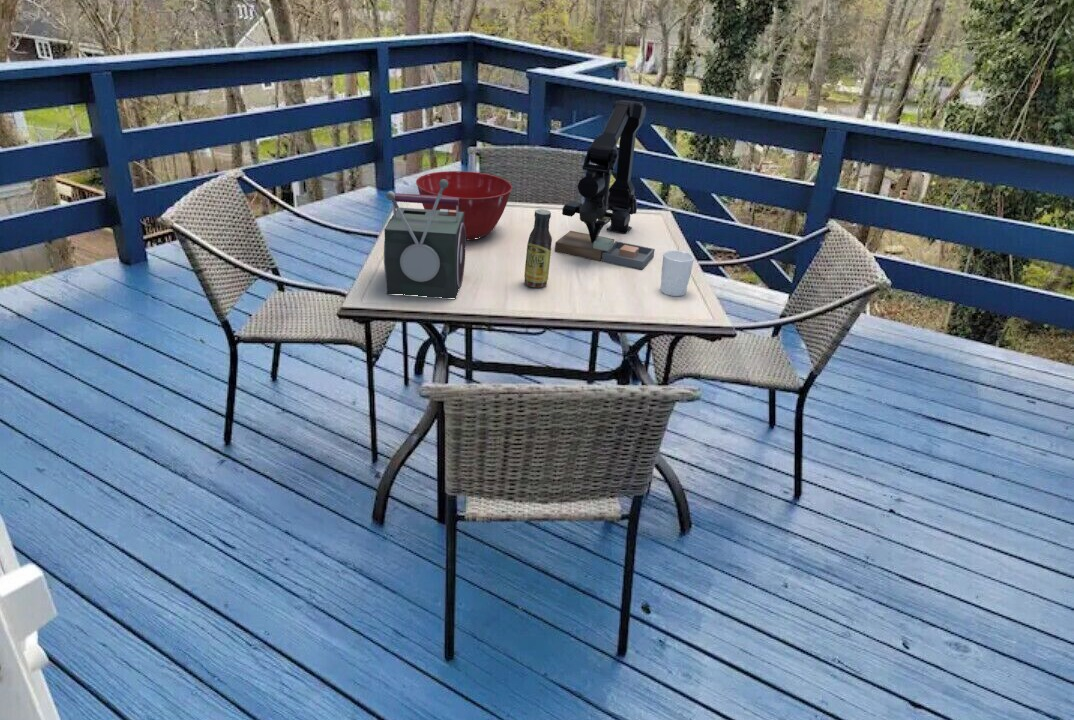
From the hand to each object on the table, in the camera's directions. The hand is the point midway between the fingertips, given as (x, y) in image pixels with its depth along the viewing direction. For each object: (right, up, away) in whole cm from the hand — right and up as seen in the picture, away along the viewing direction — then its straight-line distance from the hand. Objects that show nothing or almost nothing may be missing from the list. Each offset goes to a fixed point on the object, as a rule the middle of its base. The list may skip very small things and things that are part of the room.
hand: (593, 242), depth 217 cm
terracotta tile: (+11, -2, +1) cm, 11 cm away
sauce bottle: (-16, -14, -20) cm, 29 cm away
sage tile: (+3, -2, -1) cm, 3 cm away
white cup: (+20, -16, -18) cm, 31 cm away
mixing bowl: (-38, +5, +12) cm, 41 cm away
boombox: (-45, -15, -24) cm, 53 cm away
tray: (+10, -5, +1) cm, 11 cm away
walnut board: (-2, -2, +5) cm, 6 cm away
